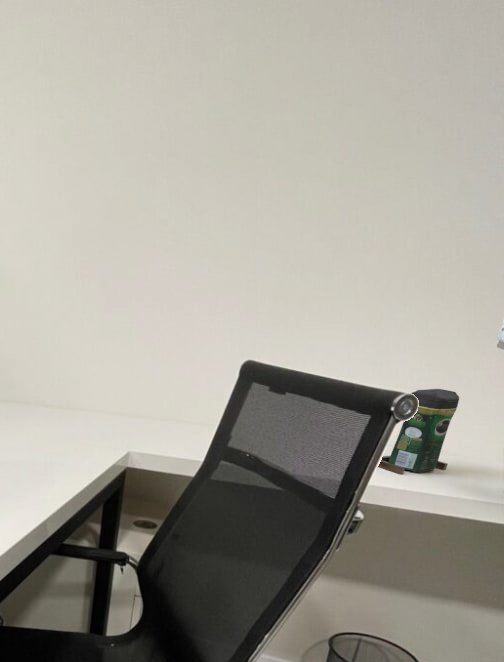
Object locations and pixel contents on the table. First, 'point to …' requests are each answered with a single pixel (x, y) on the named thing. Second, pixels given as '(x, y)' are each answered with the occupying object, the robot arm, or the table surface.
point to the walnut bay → (400, 470)
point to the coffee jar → (425, 431)
